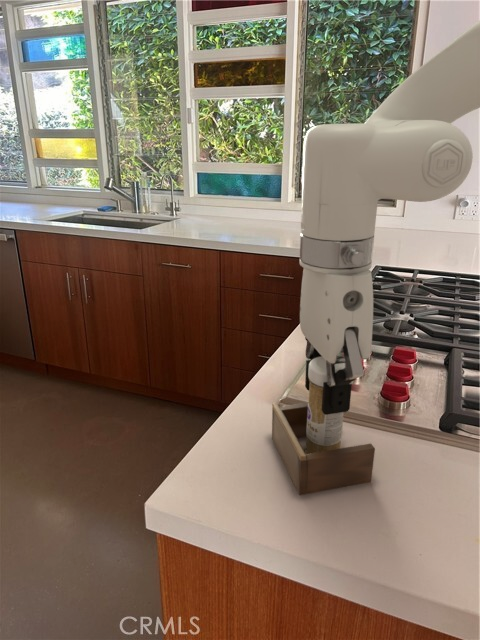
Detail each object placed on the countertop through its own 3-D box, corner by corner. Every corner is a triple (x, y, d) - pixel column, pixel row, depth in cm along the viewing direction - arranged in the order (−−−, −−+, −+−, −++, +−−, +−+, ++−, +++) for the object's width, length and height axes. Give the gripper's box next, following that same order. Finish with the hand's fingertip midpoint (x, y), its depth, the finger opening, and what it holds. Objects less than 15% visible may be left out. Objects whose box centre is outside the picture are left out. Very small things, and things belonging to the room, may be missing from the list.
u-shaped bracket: (333, 428, 65) (336, 394, 63) (371, 482, 55) (375, 444, 53) (271, 438, 63) (272, 403, 61) (299, 496, 53) (300, 456, 51)
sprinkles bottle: (298, 450, 60) (302, 358, 55) (329, 442, 62) (336, 352, 56) (314, 472, 56) (320, 376, 51) (347, 464, 58) (356, 369, 52)
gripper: (413, 270, 42) (390, 436, 49) (336, 232, 57) (327, 363, 64) (335, 277, 40) (324, 448, 47) (277, 236, 55) (275, 370, 63)
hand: (326, 398), depth 56 cm, fingers closed on sprinkles bottle, 4 cm apart
